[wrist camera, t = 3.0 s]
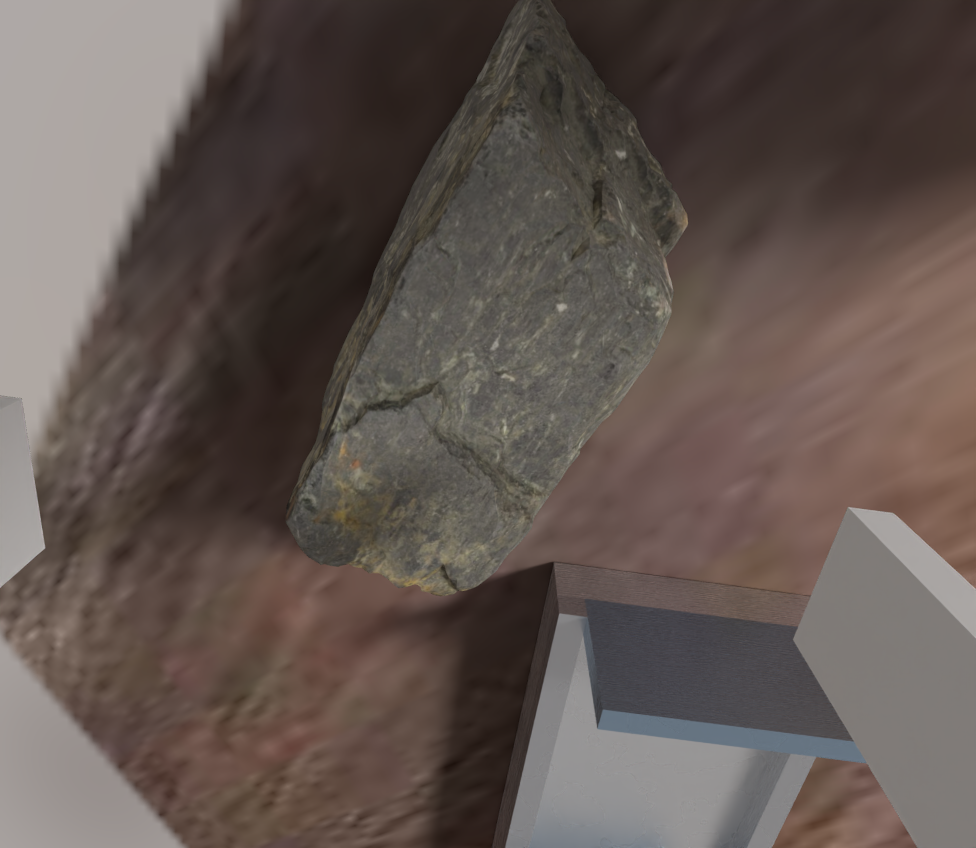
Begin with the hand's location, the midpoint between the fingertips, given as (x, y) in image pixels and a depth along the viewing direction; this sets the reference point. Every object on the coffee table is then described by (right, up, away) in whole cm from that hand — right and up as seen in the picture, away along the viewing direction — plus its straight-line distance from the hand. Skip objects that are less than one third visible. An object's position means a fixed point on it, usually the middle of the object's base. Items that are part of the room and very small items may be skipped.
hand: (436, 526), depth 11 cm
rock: (+1, +6, +11) cm, 12 cm away
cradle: (+7, -14, +19) cm, 24 cm away
